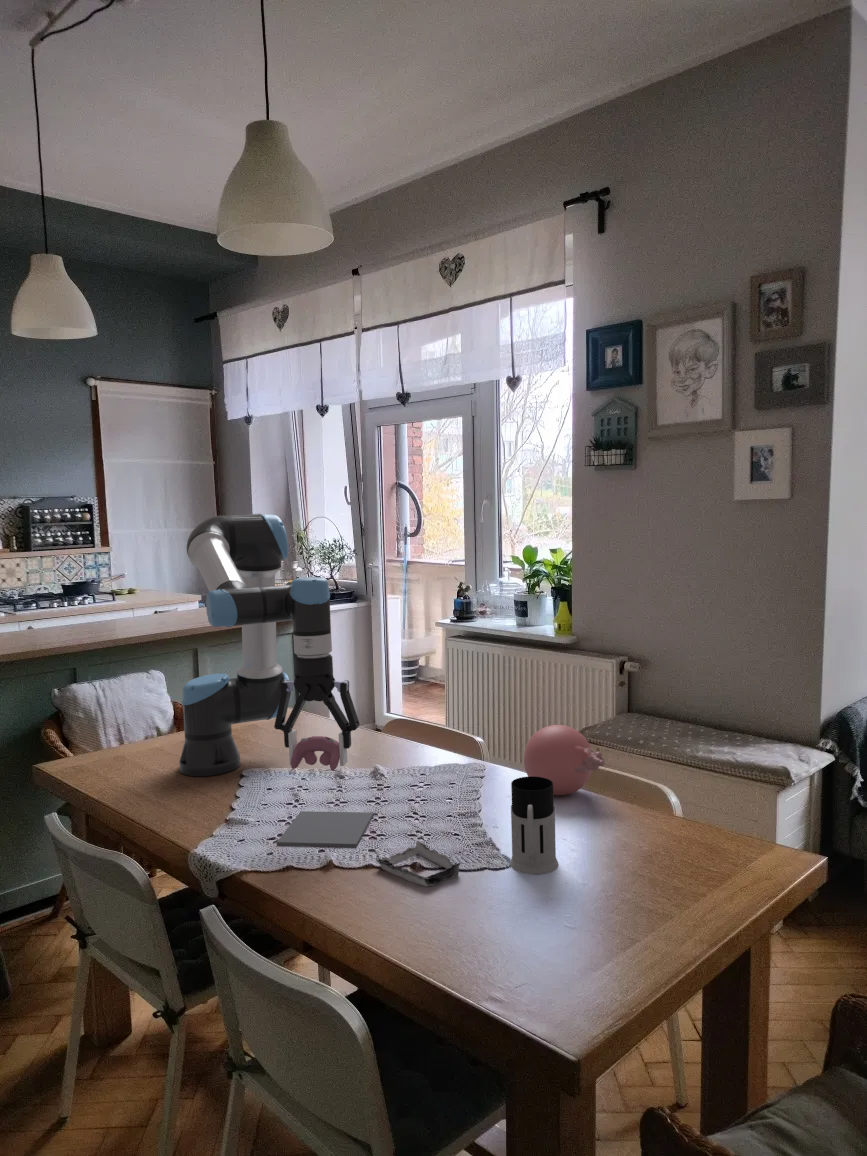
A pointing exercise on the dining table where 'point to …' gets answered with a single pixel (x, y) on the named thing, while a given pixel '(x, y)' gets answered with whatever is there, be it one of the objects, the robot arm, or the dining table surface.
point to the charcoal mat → (326, 829)
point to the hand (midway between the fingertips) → (318, 763)
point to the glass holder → (533, 826)
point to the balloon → (561, 758)
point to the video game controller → (313, 744)
